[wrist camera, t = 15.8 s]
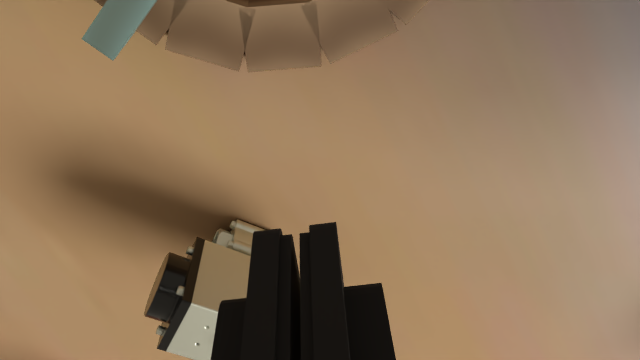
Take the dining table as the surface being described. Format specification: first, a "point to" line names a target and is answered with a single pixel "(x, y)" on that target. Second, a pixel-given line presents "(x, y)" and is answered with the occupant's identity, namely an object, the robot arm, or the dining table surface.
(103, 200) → the dining table surface
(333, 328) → the robot arm
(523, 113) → the dining table surface
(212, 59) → the ring
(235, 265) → the pneumatic valve
